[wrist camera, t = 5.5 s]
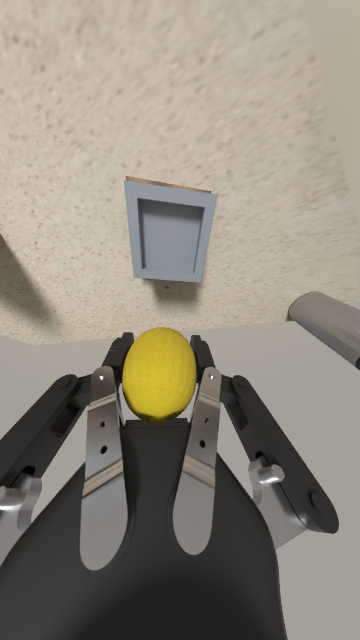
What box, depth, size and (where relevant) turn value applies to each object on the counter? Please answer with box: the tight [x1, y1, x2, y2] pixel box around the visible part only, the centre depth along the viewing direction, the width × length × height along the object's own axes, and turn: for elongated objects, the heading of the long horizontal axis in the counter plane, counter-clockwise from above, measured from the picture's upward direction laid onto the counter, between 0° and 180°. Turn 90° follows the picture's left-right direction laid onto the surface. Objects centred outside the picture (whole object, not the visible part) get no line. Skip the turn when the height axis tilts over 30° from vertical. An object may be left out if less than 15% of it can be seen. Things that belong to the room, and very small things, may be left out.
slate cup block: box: [124, 180, 218, 283], centre depth 20 cm, size 10×10×6 cm
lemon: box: [122, 327, 196, 424], centre depth 11 cm, size 6×6×8 cm
